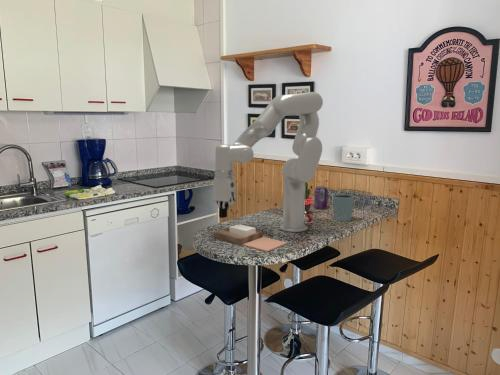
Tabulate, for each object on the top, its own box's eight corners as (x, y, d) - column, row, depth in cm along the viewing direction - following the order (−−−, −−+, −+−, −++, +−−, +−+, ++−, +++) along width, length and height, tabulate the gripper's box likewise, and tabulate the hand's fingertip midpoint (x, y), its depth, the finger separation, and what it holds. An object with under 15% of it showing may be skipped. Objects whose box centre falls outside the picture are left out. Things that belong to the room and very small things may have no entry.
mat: (263, 237, 163) (263, 236, 163) (287, 243, 155) (287, 242, 155) (243, 245, 153) (243, 244, 153) (267, 251, 145) (267, 250, 145)
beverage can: (329, 208, 219) (330, 187, 217) (322, 210, 214) (323, 188, 212) (319, 206, 223) (319, 185, 221) (311, 208, 218) (312, 187, 216)
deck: (235, 230, 173) (235, 225, 172) (262, 237, 163) (262, 231, 163) (213, 238, 162) (213, 232, 162) (240, 245, 153) (240, 239, 152)
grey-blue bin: (330, 220, 191) (331, 196, 189) (333, 216, 200) (334, 193, 198) (351, 222, 187) (353, 198, 185) (354, 218, 197) (355, 194, 195)
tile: (239, 229, 166) (239, 224, 165) (255, 233, 160) (255, 227, 160) (229, 232, 161) (229, 227, 161) (246, 236, 156) (246, 230, 155)
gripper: (243, 175, 161) (242, 218, 164) (217, 171, 171) (216, 212, 173) (231, 176, 155) (230, 221, 158) (205, 173, 165) (204, 215, 168)
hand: (223, 217), depth 166 cm, fingers closed
